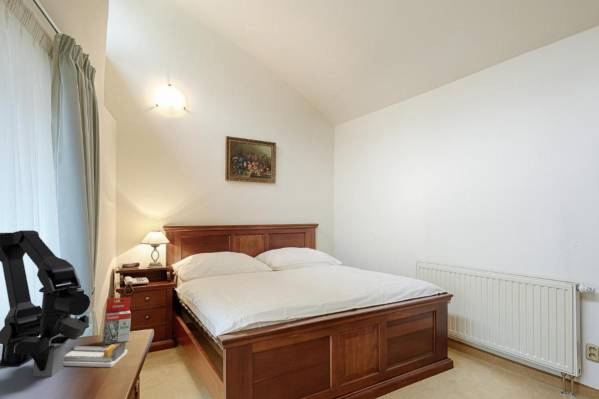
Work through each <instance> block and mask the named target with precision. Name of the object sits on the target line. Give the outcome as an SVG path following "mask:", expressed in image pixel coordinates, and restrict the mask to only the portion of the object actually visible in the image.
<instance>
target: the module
mask: <svg viewBox="0 0 599 399" xmlns="http://www.w3.org/2000/svg"><path fill="white" fill-rule="evenodd" d="M50 346H55V347H54V348H52V349H51V350H50V351H49V354H48V359H47V364H46V368H45V370H44V371H40V370H39V369H38V367H37V365H36V363H35V361H34V360H33V368H32V377H49V378H50V377H53V376H55V375H56V374H58V373H59V372H60V371H61V370H63V369H64V366H63V363H64V356H65V350H66V343H65V344H60V343H51V344H50Z"/></svg>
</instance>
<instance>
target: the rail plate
mask: <svg viewBox="0 0 599 399" xmlns="http://www.w3.org/2000/svg"><path fill="white" fill-rule="evenodd" d="M108 347H109V346H89V345H88V346H87V345H85V346H83V345H81V346H80V345H76V346H74V347H73V348H74V349H72V350H71V351H69V352H67V353H66V354H64V363H63V367H94V368H95V367H98V368H112V367H113V366H114V365H116V363H118V362H119V361H120V360H121V359H122V358H123V357H125V355H126V354H128V349H127V348H126V341H125V342H120V344H118V345H117V346H115V349H113V350H112V355H111V356H110V357H104V350H105V349H106V348H108Z"/></svg>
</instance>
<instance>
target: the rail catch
mask: <svg viewBox="0 0 599 399" xmlns="http://www.w3.org/2000/svg"><path fill="white" fill-rule="evenodd" d="M116 345H117V344H116V343H111V344H110V345H109V346H107V347H108V348H106V349H105V350H104V357H110V356H111V355H112V350H113V349H115V347H117V346H116Z"/></svg>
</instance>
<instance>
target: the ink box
mask: <svg viewBox="0 0 599 399" xmlns="http://www.w3.org/2000/svg"><path fill="white" fill-rule="evenodd" d="M131 298H132V296H131V297H115V298H107V299H106V309H105V313H104V321H103V322H104V324H103V331H102V332H103V333H102V334H103V335H102V345H109V344H110V345H111V344H116V343H122V342H125V343H126V342H129V341H130V332H131V320H132V313H131V310H130V308H131Z"/></svg>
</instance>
